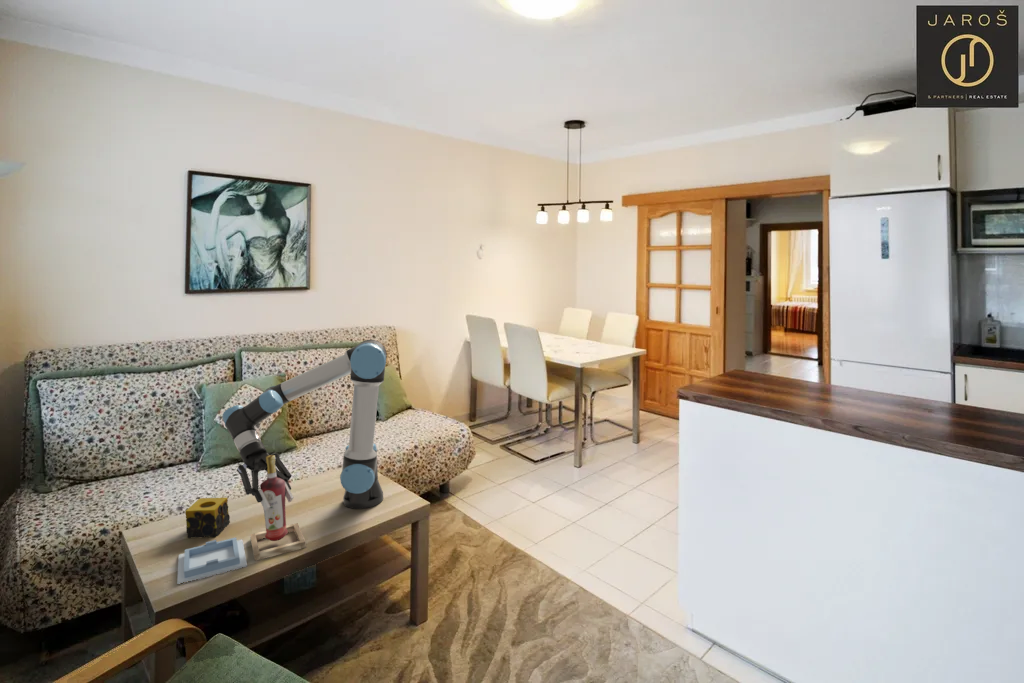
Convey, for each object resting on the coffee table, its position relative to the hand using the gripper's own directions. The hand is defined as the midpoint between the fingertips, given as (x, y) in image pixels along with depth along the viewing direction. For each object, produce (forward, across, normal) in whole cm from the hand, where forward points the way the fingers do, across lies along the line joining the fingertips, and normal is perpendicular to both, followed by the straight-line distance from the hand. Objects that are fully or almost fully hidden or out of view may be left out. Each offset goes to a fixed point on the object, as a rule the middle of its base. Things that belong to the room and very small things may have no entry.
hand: (279, 504), depth 167 cm
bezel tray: (+3, +18, -17) cm, 25 cm away
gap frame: (+8, 0, -13) cm, 15 cm away
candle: (-12, +9, -33) cm, 36 cm away
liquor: (+7, 0, -12) cm, 13 cm away
